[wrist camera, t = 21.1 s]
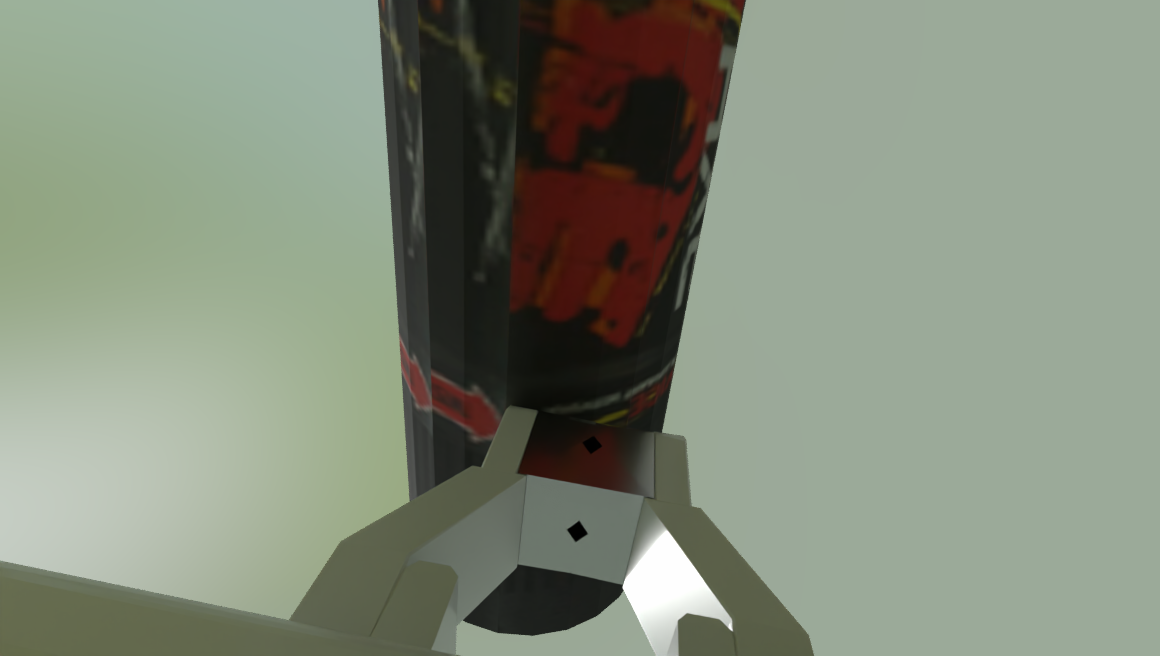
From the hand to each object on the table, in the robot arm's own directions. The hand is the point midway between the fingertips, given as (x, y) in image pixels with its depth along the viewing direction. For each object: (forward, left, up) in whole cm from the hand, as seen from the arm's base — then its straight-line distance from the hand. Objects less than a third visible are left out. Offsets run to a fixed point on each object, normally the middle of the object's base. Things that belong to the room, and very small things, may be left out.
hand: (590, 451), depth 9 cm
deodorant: (+3, -1, -10) cm, 10 cm away
